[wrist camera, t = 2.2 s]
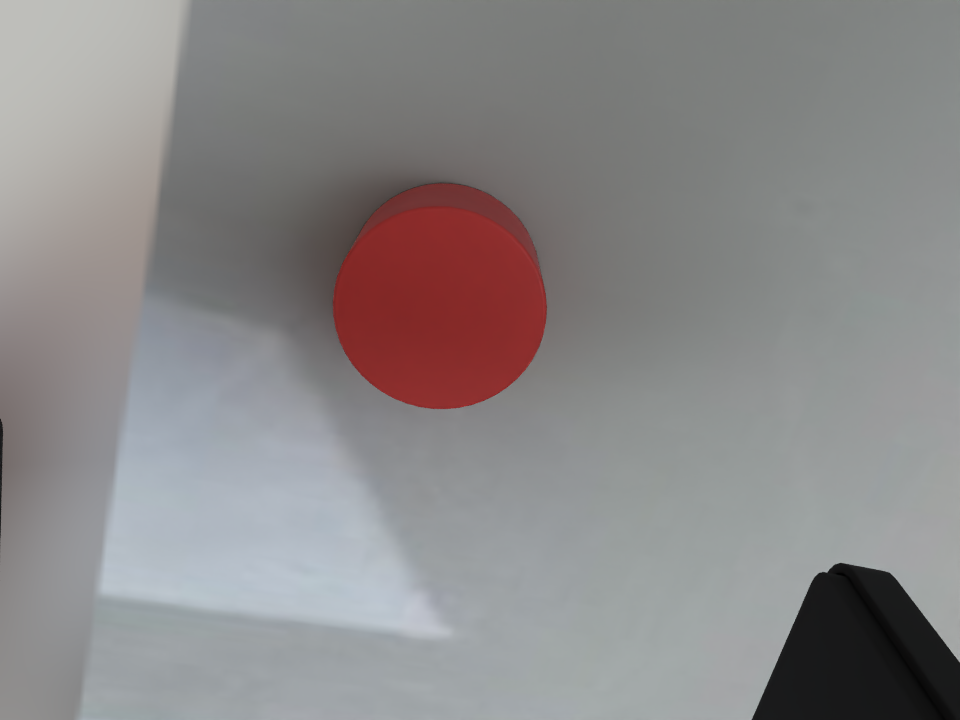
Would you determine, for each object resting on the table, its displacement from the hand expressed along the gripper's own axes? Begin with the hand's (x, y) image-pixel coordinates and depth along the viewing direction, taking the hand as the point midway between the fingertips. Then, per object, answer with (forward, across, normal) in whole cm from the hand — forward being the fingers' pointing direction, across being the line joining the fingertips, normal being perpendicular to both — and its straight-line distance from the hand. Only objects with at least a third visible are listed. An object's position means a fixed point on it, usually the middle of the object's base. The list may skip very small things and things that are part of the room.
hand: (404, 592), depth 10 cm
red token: (+11, 0, -1) cm, 11 cm away
